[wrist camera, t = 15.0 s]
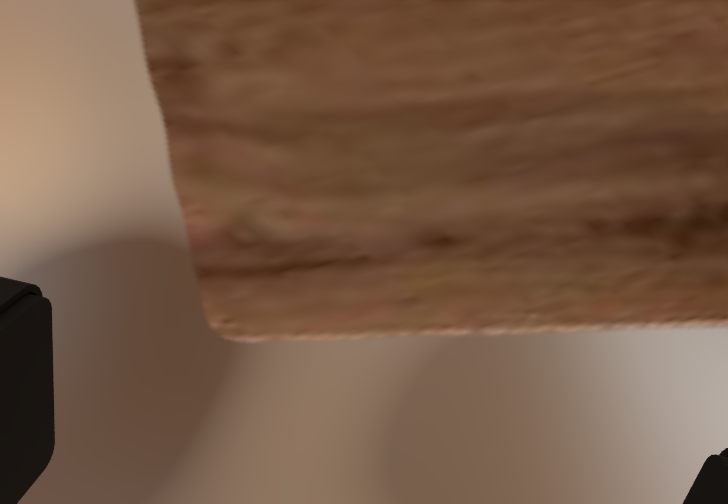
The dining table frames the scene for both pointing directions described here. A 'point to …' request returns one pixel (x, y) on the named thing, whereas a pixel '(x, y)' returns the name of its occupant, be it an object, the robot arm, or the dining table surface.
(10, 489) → the robot arm
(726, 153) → the dining table surface
